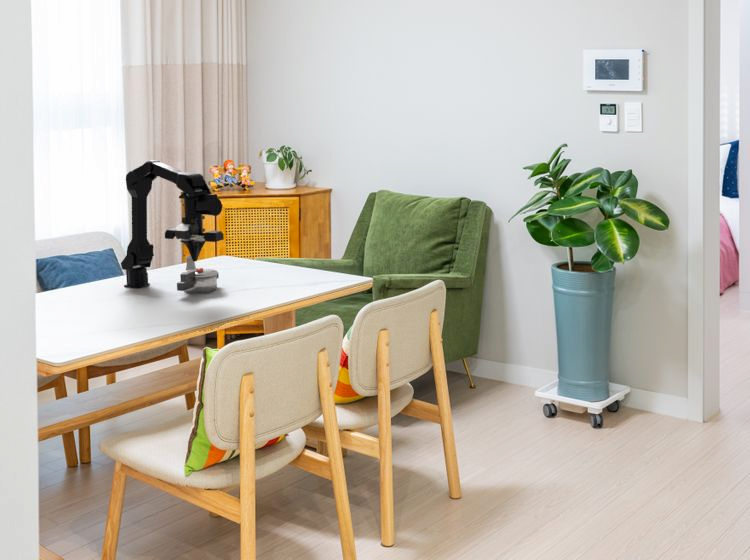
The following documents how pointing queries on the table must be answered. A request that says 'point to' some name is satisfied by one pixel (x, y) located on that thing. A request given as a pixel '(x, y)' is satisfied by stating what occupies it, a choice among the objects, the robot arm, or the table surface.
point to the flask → (190, 263)
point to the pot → (199, 285)
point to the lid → (197, 274)
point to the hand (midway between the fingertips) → (194, 261)
